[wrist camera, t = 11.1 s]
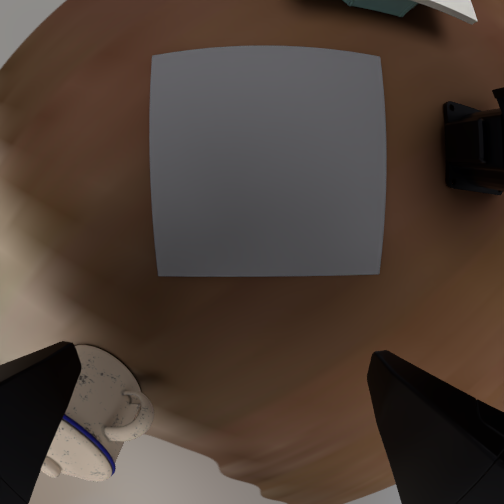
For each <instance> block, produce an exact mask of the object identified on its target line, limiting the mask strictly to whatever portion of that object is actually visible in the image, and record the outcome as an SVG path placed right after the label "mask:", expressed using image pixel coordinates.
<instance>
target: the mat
mask: <svg viewBox="0 0 504 504" xmlns="http://www.w3.org/2000/svg"><path fill="white" fill-rule="evenodd" d="M150 180H151V200H152V216H153V229H154V241H155V251H156V261H157V270H158V276H186V277H271V276H335V275H372V274H379V272H380V263H381V254H382V244H383V232H384V218H385V200H386V121H385V103H384V90H383V79H382V69H381V61H380V57H379V56H373V55H368V54H362V53H355V52H349V51H341V50H333V49H323V48H312V47H296V46H232V47H216V48H205V49H195V50H187V51H179V52H172V53H166V54H160V55H154V56H152V67H151V86H150Z"/></svg>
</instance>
